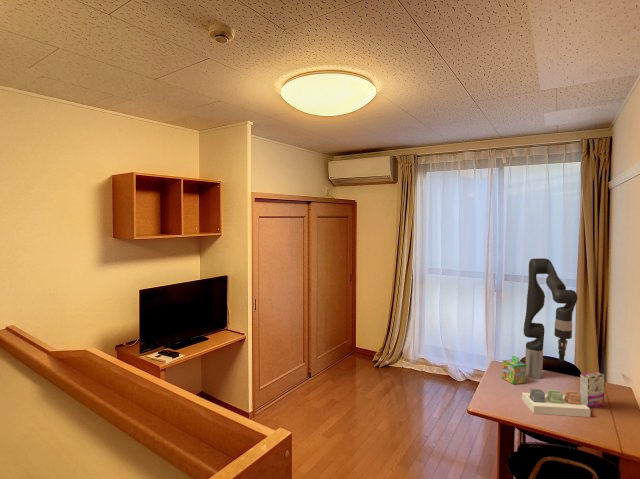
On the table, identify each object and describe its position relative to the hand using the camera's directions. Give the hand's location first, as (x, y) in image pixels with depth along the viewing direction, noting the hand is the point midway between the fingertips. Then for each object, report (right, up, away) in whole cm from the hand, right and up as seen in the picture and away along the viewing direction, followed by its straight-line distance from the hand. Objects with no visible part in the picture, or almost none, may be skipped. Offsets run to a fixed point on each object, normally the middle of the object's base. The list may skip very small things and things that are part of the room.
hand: (561, 358), depth 188 cm
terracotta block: (+4, -23, -2) cm, 23 cm away
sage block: (-5, -23, -1) cm, 23 cm away
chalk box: (-9, -24, +31) cm, 40 cm away
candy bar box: (+17, -25, +2) cm, 31 cm away
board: (-5, -25, -1) cm, 26 cm away
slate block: (-13, -23, 0) cm, 26 cm away
